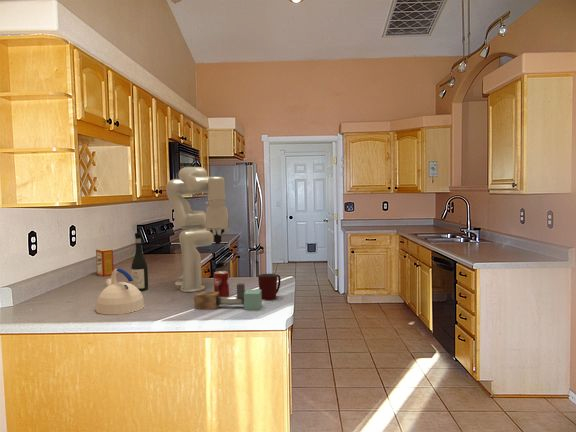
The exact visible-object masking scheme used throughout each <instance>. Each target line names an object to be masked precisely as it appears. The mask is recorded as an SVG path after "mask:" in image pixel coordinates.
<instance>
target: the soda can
mask: <svg viewBox="0 0 576 432" xmlns="http://www.w3.org/2000/svg"><path fill="white" fill-rule="evenodd" d="M213 292H219V297H230V273H229V272H228V271H227V270H218V271H215V272H214V273H213Z"/></svg>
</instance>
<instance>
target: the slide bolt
mask: <svg viewBox="0 0 576 432" xmlns="http://www.w3.org/2000/svg"><path fill="white" fill-rule="evenodd" d="M245 287H246V283H243V282H241V283H239V282H238V283H237V284H236V296H229V297H216V304H217V305H219V306H220V305H223V306H224V305H229V306H230V305H234V306H235V305H237V306H238V305H243V306H244V293H245V292H246V288H245Z"/></svg>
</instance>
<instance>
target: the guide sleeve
mask: <svg viewBox="0 0 576 432" xmlns="http://www.w3.org/2000/svg"><path fill="white" fill-rule="evenodd" d="M216 297H219V292H214V291H197V292H196V293H195V294H194V310H217V309H218V308H219V306H220V305H217V304H216Z"/></svg>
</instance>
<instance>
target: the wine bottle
mask: <svg viewBox="0 0 576 432" xmlns="http://www.w3.org/2000/svg"><path fill="white" fill-rule="evenodd" d="M141 236H142V233H141V232H135V233H134V238H135V254H134V257H133V259H132V263H131V266H130V267H131V268H130V269H131V277H132V279H133V280H134V281H131V284H132V285H134V286H135V287H137V288H138V289H139V291H140V292H142V291H147V290H148V289H149V276H148V275H149V272H148V263H147V261H146V259H145V257H144V254H143V252H142V237H141Z"/></svg>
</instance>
